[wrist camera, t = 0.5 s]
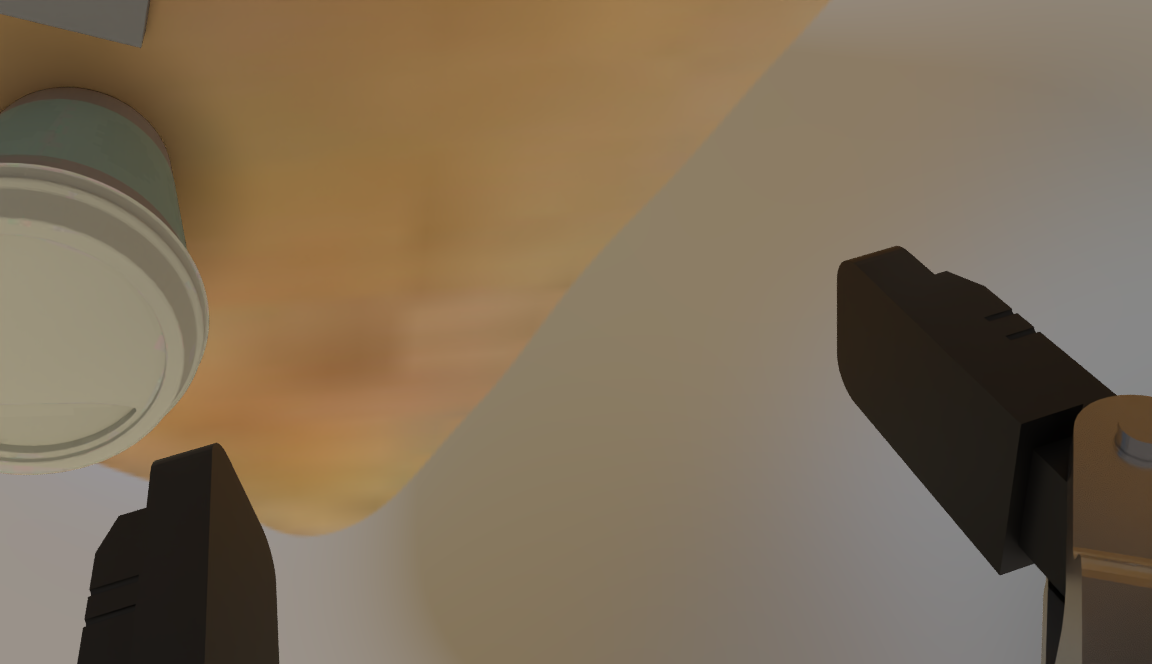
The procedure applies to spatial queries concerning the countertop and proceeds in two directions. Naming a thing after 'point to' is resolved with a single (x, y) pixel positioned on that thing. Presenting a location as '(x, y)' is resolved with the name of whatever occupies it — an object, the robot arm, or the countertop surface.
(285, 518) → the countertop surface
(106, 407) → the coffee cup
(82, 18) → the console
